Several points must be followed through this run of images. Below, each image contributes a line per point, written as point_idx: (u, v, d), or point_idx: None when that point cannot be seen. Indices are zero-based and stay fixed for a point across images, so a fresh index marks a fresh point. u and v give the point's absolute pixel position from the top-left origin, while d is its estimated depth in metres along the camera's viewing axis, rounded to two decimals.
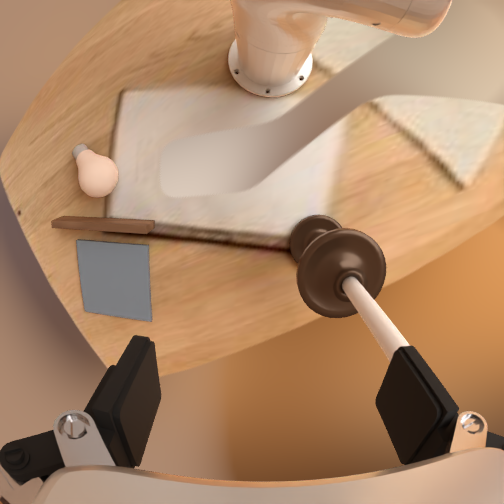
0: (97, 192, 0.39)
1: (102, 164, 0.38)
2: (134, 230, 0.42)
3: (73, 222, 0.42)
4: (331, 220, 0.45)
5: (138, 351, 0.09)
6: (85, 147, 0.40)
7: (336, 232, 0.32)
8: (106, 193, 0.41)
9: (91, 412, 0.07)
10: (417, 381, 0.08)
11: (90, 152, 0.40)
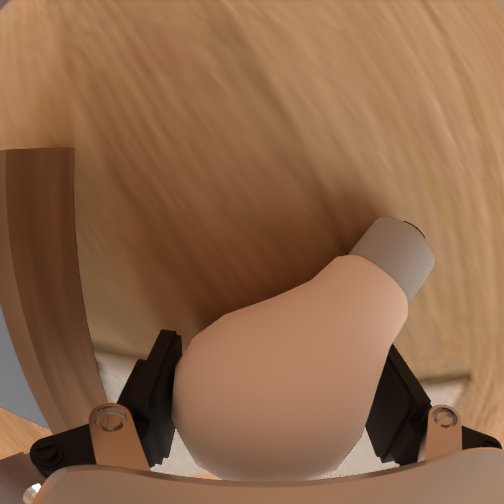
0: None
1: None
2: None
3: (21, 305, 0.07)
4: None
5: (167, 344, 0.09)
6: None
7: None
8: None
9: (124, 405, 0.07)
10: (390, 373, 0.09)
11: None
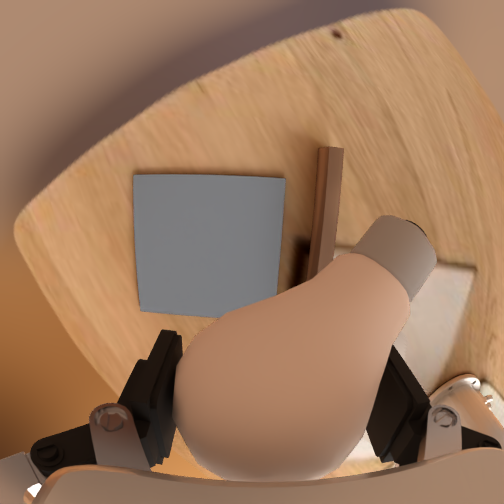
0: (198, 459, 0.07)
1: None
2: None
3: (337, 207, 0.23)
4: None
5: (168, 344, 0.09)
6: None
7: None
8: None
9: (124, 405, 0.07)
10: (389, 373, 0.09)
11: None
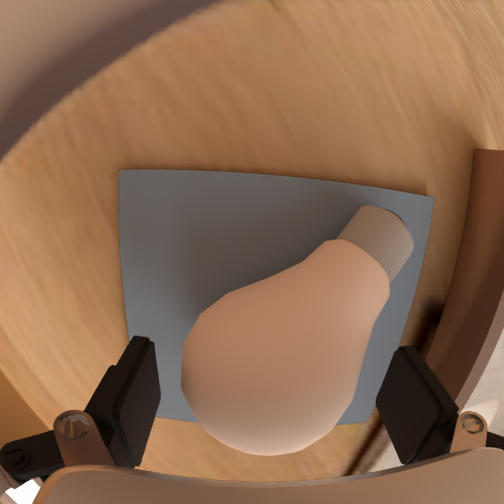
0: None
1: None
2: None
3: None
4: None
5: (138, 351, 0.09)
6: None
7: None
8: None
9: (91, 412, 0.07)
10: (417, 381, 0.08)
11: None
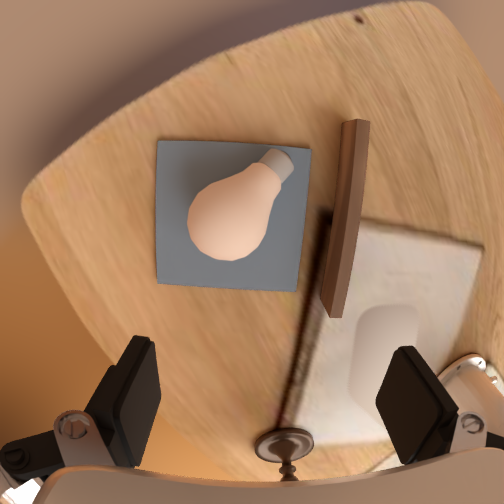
0: (196, 238, 0.23)
1: (250, 248, 0.23)
2: (337, 299, 0.27)
3: (363, 176, 0.23)
4: (307, 452, 0.39)
5: (138, 351, 0.09)
6: (285, 178, 0.25)
7: None
8: (194, 242, 0.24)
9: (91, 412, 0.07)
10: (417, 381, 0.08)
11: (274, 197, 0.24)
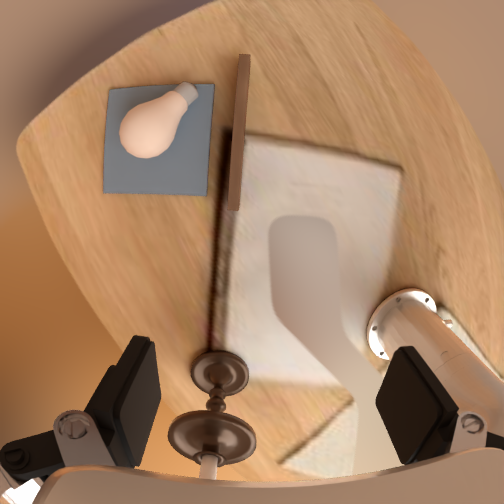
0: (122, 139, 0.29)
1: (157, 143, 0.29)
2: (232, 192, 0.32)
3: (245, 93, 0.29)
4: (244, 384, 0.44)
5: (138, 351, 0.09)
6: (191, 101, 0.31)
7: (253, 437, 0.30)
8: (124, 146, 0.30)
9: (91, 412, 0.07)
10: (417, 381, 0.08)
11: (181, 112, 0.30)
